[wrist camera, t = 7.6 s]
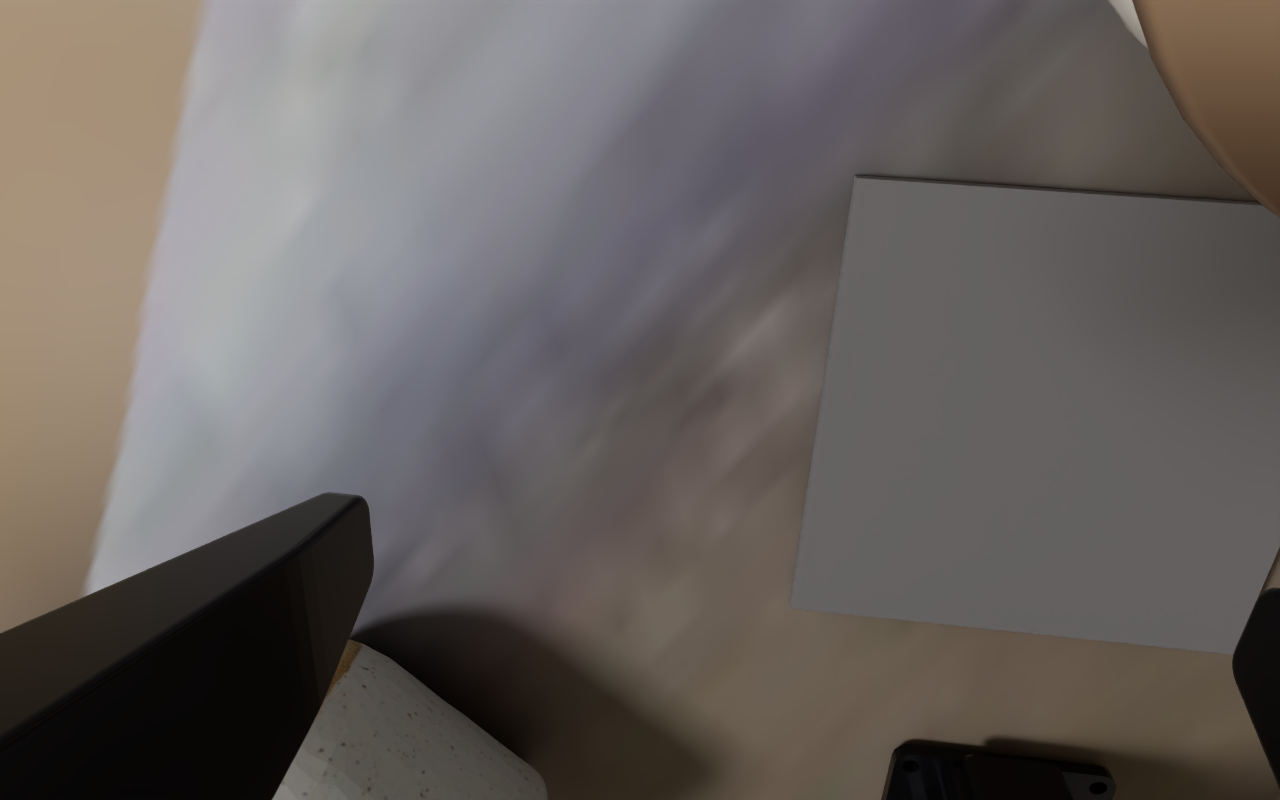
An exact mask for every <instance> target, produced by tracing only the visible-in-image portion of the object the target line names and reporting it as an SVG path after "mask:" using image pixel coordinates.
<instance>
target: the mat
mask: <svg viewBox="0 0 1280 800" xmlns="http://www.w3.org/2000/svg"><path fill="white" fill-rule="evenodd" d="M1279 548H1280V217H1279V216H1277V215H1276V214H1274V213H1272V212H1271V211H1269V210H1268V209H1266V208H1265V207H1264V206H1263V205H1262V204H1261V203H1260V202H1246V201H1231V200H1217V199H1202V198H1187V197H1172V196H1158V195H1143V194H1128V193H1113V192H1099V191H1084V190H1069V189H1054V188H1039V187H1025V186H1010V185H995V184H980V183H966V182H951V181H936V180H921V179H906V178H892V177H877V176H862V175H855V177H854V184H853V190H852V197H851V203H850V210H849V216H848V223H847V230H846V236H845V243H844V249H843V256H842V262H841V269H840V276H839V282H838V289H837V295H836V302H835V308H834V315H833V322H832V328H831V335H830V341H829V348H828V354H827V361H826V368H825V374H824V381H823V387H822V394H821V400H820V407H819V413H818V420H817V427H816V433H815V440H814V446H813V453H812V459H811V466H810V473H809V479H808V486H807V492H806V499H805V505H804V512H803V519H802V525H801V532H800V538H799V545H798V551H797V558H796V565H795V571H794V578H793V584H792V591H791V597H790V603H791V608H792V609H802V610H812V611H821V612H831V613H840V614H850V615H859V616H869V617H879V618H888V619H898V620H907V621H917V622H926V623H936V624H946V625H955V626H965V627H974V628H984V629H994V630H1003V631H1013V632H1022V633H1032V634H1041V635H1051V636H1061V637H1070V638H1080V639H1089V640H1099V641H1108V642H1118V643H1128V644H1137V645H1147V646H1156V647H1166V648H1176V649H1185V650H1195V651H1204V652H1214V653H1223V654H1234V651H1235V648H1236V646H1237V644H1238V641H1239V639H1240V637H1241V635H1242V632H1243V630H1244V628H1245V625H1246V623H1247V621H1248V619H1249V616H1250V614H1251V612H1252V609H1253V607H1254V605H1255V603H1256V601H1257V598H1258V596H1259V594H1260V591H1261V589H1262V587H1263V585H1264V582H1265V580H1266V578H1267V575H1268V573H1269V571H1270V569H1271V566H1272V564H1273V562H1274V559H1275V557H1276V555H1277V552H1278V550H1279Z"/></svg>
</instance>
